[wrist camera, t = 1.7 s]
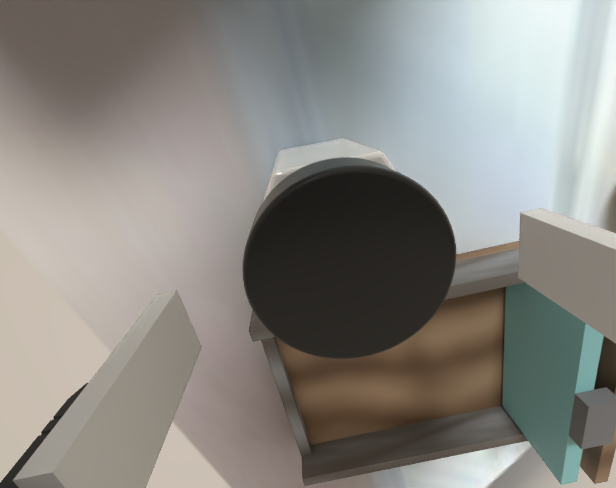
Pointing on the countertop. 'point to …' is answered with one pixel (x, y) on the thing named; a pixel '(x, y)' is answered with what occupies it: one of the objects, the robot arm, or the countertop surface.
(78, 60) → the countertop surface
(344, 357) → the jar
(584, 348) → the panel
